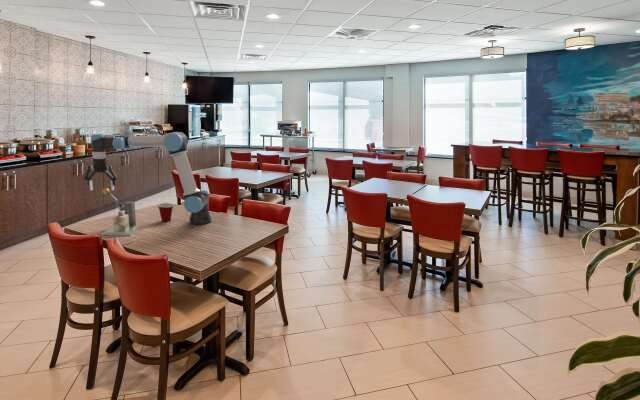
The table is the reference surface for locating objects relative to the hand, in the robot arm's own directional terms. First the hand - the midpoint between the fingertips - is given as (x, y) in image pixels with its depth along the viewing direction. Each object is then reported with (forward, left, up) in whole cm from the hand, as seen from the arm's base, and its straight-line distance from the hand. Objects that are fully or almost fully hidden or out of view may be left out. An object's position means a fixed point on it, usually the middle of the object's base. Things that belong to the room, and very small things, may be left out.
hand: (102, 190), depth 268 cm
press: (-17, +11, -24) cm, 31 cm away
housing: (-17, +16, -22) cm, 32 cm away
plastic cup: (-37, -13, -24) cm, 46 cm away
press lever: (-13, 0, -13) cm, 19 cm away
